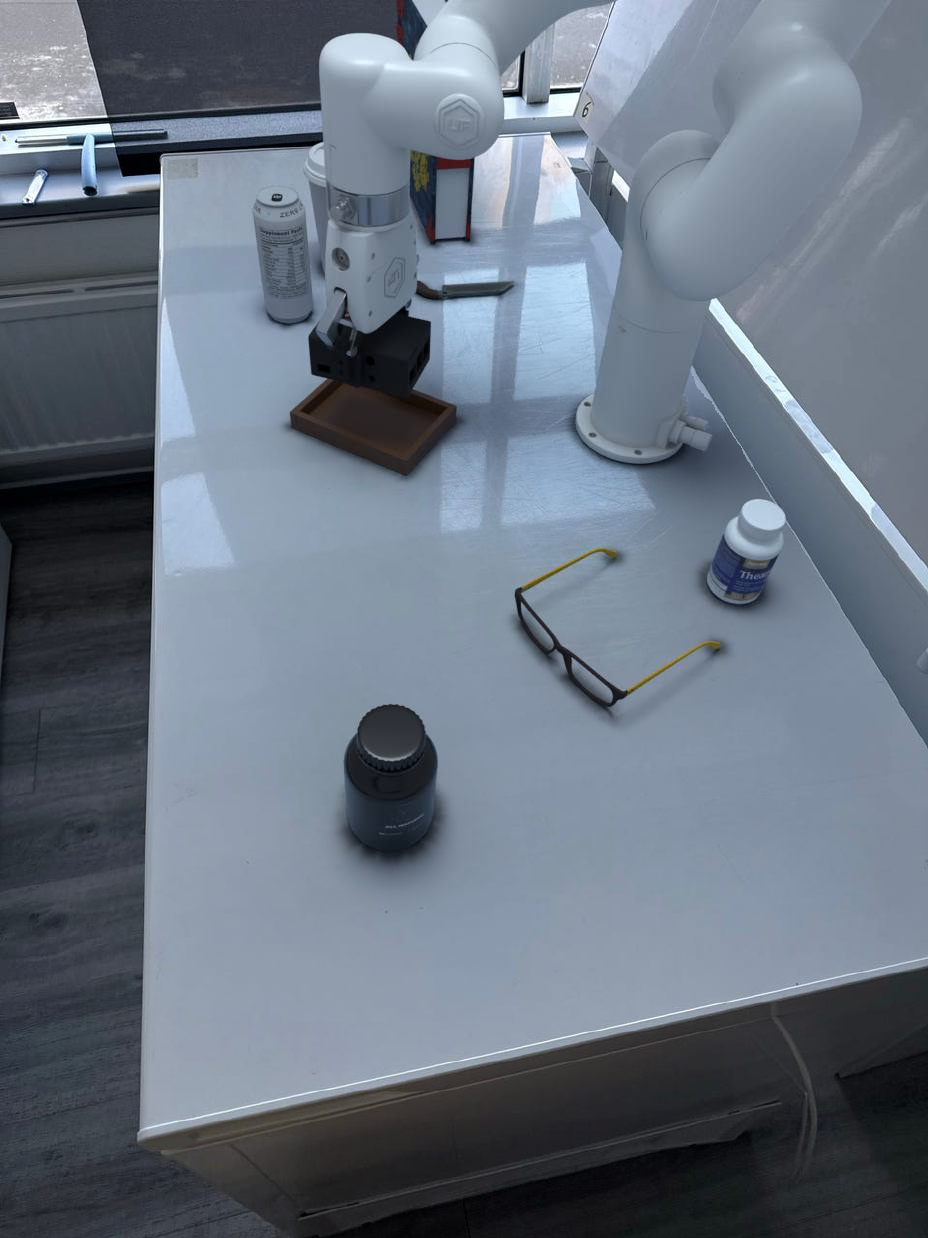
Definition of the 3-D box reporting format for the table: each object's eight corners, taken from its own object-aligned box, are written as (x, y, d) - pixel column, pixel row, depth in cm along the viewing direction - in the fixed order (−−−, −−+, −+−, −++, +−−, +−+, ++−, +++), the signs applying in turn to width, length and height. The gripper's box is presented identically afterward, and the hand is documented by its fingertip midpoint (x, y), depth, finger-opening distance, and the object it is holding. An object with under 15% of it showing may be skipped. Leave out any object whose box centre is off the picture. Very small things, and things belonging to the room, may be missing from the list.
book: (393, 164, 142) (391, -22, 123) (436, 161, 143) (440, -23, 124) (427, 245, 126) (431, 47, 107) (474, 241, 128) (486, 45, 109)
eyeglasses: (503, 619, 84) (507, 591, 81) (614, 555, 90) (622, 527, 87) (607, 725, 77) (615, 699, 74) (720, 648, 83) (732, 621, 80)
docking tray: (456, 420, 102) (457, 405, 101) (406, 475, 96) (406, 460, 94) (346, 377, 106) (345, 362, 105) (291, 427, 100) (289, 411, 98)
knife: (414, 300, 117) (414, 295, 117) (409, 284, 120) (409, 279, 119) (518, 294, 119) (518, 289, 119) (511, 278, 122) (512, 273, 121)
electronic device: (407, 400, 92) (407, 359, 88) (311, 377, 94) (307, 335, 90) (430, 360, 97) (431, 319, 93) (338, 339, 98) (335, 297, 95)
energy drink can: (315, 299, 116) (305, 183, 105) (312, 326, 112) (301, 208, 101) (268, 298, 116) (253, 181, 104) (263, 324, 112) (247, 206, 100)
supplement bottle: (402, 870, 68) (402, 794, 59) (329, 824, 70) (318, 744, 61) (450, 802, 72) (458, 720, 62) (380, 760, 74) (378, 675, 64)
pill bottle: (728, 613, 86) (759, 542, 78) (694, 575, 89) (722, 503, 81) (771, 595, 88) (806, 524, 80) (737, 558, 91) (768, 487, 83)
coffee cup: (396, 264, 123) (395, 151, 111) (353, 294, 117) (348, 179, 106) (340, 242, 126) (334, 129, 114) (296, 270, 120) (285, 155, 109)
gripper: (349, 249, 75) (356, 416, 89) (451, 172, 85) (443, 333, 99) (276, 223, 77) (293, 390, 91) (384, 151, 87) (385, 311, 101)
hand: (371, 360), depth 94 cm, fingers closed on electronic device, 8 cm apart
